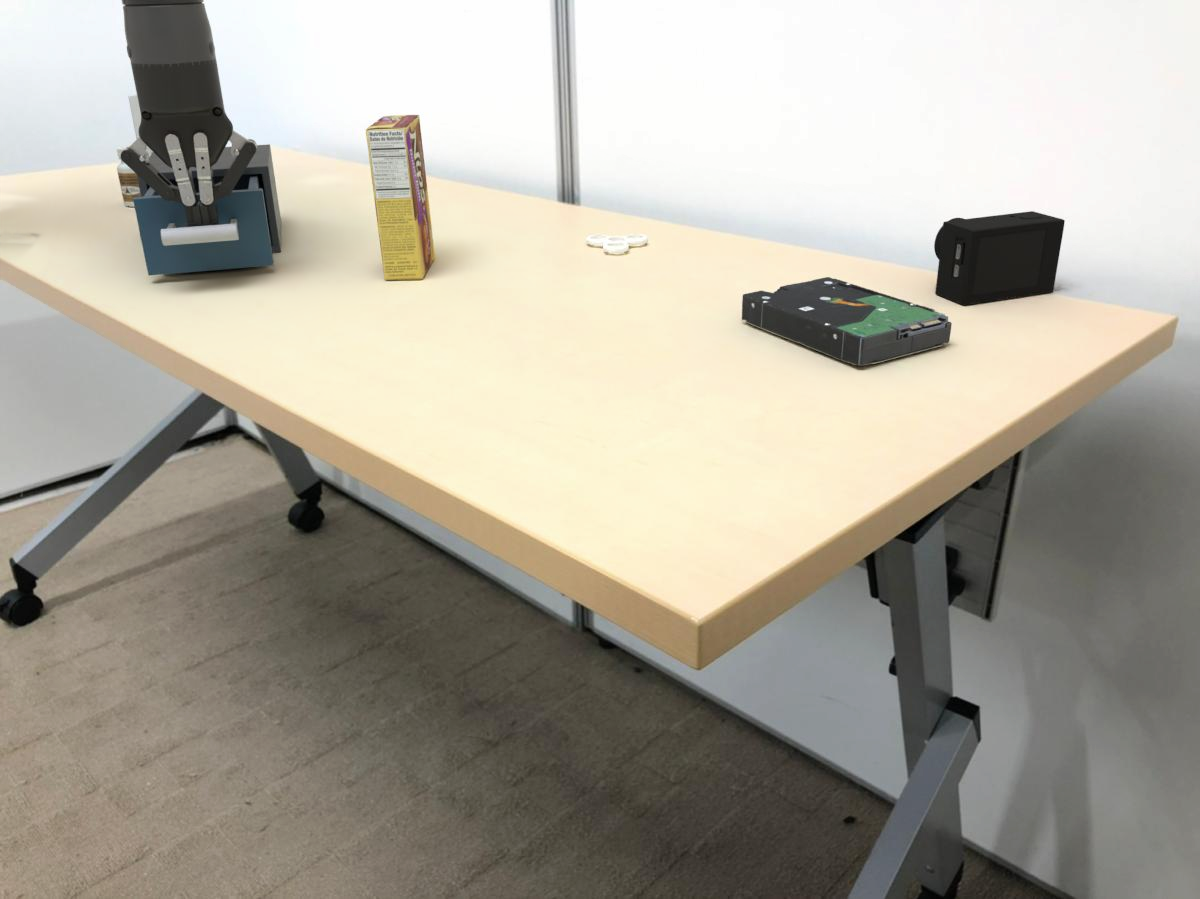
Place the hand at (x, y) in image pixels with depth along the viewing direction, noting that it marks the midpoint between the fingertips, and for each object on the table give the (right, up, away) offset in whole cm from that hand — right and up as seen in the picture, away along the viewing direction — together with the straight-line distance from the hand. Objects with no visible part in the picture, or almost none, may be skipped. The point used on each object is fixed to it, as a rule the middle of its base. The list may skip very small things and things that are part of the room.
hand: (206, 240), depth 106 cm
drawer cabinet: (-6, +4, +20) cm, 22 cm away
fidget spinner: (+42, +2, +14) cm, 44 cm away
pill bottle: (-24, +13, +41) cm, 50 cm away
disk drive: (+60, -11, -16) cm, 63 cm away
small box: (-27, +21, +59) cm, 68 cm away
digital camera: (+76, -6, -5) cm, 77 cm away
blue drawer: (-2, 0, +8) cm, 9 cm away
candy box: (+19, -2, +7) cm, 20 cm away
